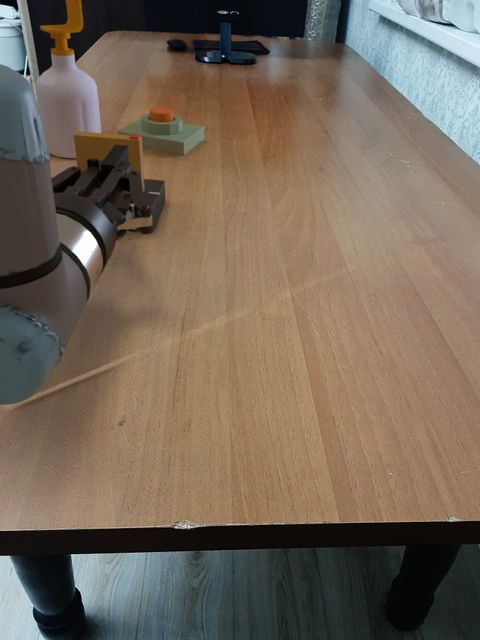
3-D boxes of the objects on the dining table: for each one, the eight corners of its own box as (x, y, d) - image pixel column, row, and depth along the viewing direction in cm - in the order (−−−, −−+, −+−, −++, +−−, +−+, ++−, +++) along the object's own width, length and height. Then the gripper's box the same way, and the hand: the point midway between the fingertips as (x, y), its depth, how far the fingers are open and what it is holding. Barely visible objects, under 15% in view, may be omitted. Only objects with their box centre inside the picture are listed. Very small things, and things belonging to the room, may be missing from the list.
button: (146, 121, 97) (145, 111, 96) (155, 116, 100) (155, 105, 99) (168, 125, 96) (167, 114, 95) (177, 119, 99) (176, 109, 98)
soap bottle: (35, 146, 93) (6, -33, 79) (86, 138, 99) (68, -32, 84) (61, 163, 88) (34, -25, 74) (113, 153, 94) (98, -24, 79)
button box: (118, 144, 97) (116, 120, 95) (143, 129, 105) (142, 106, 103) (183, 155, 95) (183, 131, 93) (204, 139, 103) (204, 116, 101)
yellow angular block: (80, 190, 73) (73, 132, 69) (83, 185, 75) (76, 128, 70) (142, 195, 74) (139, 138, 69) (144, 190, 75) (141, 134, 70)
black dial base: (54, 228, 71) (50, 204, 69) (81, 191, 81) (78, 169, 79) (152, 236, 71) (151, 212, 69) (167, 198, 81) (166, 176, 79)
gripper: (-12, 286, 49) (69, 184, 67) (141, 297, 49) (179, 192, 68) (-33, 202, 44) (60, 118, 63) (135, 215, 44) (178, 128, 63)
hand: (122, 157), depth 65 cm, fingers closed
